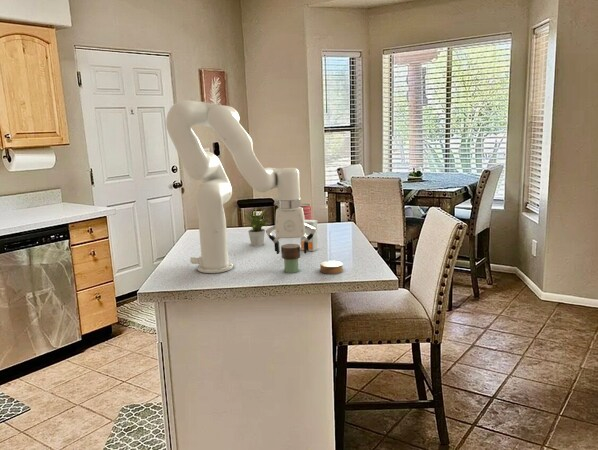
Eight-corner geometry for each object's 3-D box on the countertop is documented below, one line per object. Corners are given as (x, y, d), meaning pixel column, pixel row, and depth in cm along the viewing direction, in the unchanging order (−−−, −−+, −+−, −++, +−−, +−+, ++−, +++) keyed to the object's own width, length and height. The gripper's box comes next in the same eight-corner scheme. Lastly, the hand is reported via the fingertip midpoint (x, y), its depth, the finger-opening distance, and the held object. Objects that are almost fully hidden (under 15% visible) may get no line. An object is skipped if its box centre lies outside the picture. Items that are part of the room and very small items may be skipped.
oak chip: (319, 274, 174) (319, 267, 174) (321, 267, 182) (321, 261, 181) (342, 274, 173) (342, 267, 173) (342, 267, 181) (342, 260, 180)
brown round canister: (280, 259, 175) (279, 248, 174) (282, 254, 181) (282, 243, 181) (299, 259, 174) (299, 248, 174) (301, 254, 181) (300, 243, 180)
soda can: (314, 230, 242) (313, 203, 240) (306, 233, 237) (305, 206, 234) (301, 229, 246) (301, 203, 244) (293, 232, 240) (292, 205, 238)
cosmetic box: (300, 250, 207) (299, 221, 205) (305, 247, 211) (304, 219, 209) (313, 251, 204) (313, 222, 202) (318, 249, 208) (317, 220, 206)
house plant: (241, 250, 209) (238, 211, 206) (235, 243, 222) (233, 206, 219) (274, 247, 213) (273, 208, 210) (267, 240, 226) (265, 203, 223)
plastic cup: (283, 272, 177) (283, 259, 176) (285, 268, 182) (285, 255, 181) (297, 272, 176) (297, 258, 175) (298, 268, 181) (298, 255, 180)
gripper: (262, 206, 171) (265, 256, 175) (314, 205, 170) (316, 255, 173) (266, 203, 179) (269, 250, 182) (315, 201, 177) (317, 249, 180)
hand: (291, 252), depth 178 cm, fingers open, 9 cm apart
